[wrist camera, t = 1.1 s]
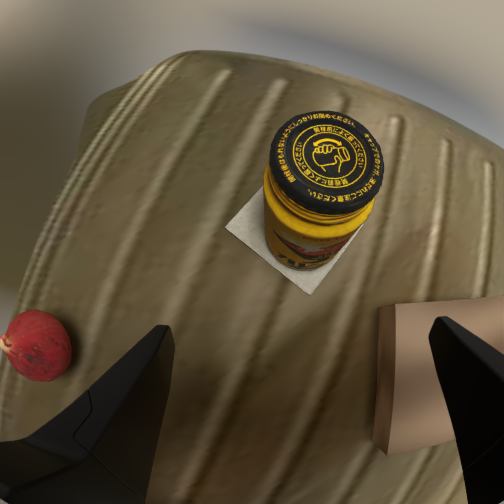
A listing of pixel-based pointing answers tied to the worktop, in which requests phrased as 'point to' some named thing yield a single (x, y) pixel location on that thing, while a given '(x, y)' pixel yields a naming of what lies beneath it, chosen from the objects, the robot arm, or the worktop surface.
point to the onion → (37, 346)
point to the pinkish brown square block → (422, 369)
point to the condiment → (312, 195)
